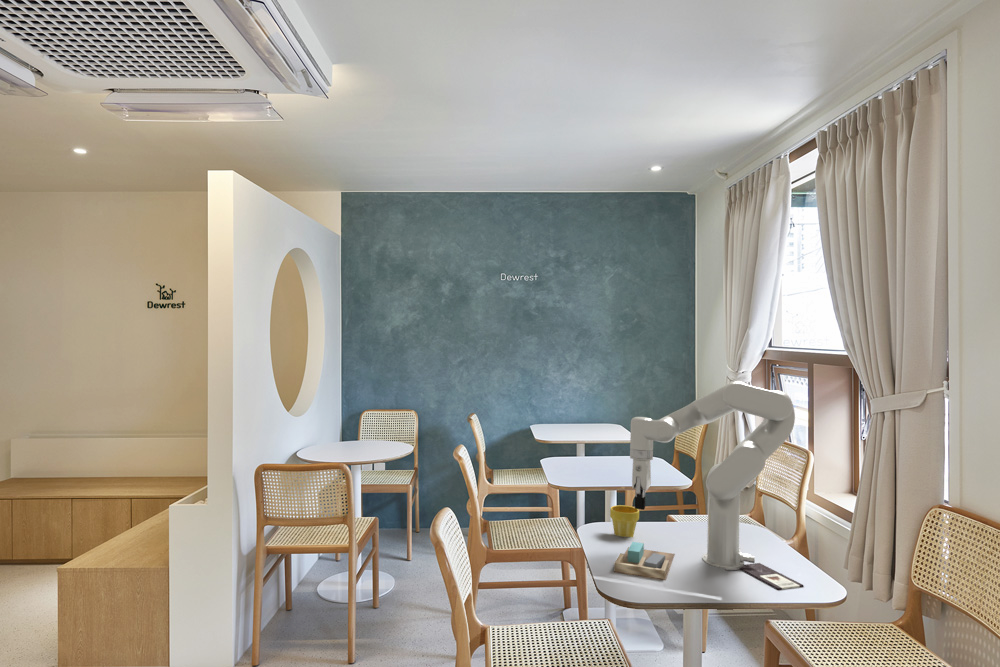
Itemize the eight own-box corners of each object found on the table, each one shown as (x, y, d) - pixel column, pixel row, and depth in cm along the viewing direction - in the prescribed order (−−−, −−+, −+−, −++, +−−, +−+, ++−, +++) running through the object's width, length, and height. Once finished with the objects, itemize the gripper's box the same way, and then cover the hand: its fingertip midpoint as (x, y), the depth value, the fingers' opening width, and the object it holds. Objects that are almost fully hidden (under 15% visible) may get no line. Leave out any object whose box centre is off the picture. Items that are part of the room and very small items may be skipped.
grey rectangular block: (665, 566, 184) (665, 555, 184) (656, 576, 177) (656, 564, 177) (653, 564, 186) (653, 552, 186) (644, 573, 179) (644, 561, 179)
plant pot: (643, 535, 217) (643, 508, 217) (631, 542, 209) (631, 514, 209) (617, 529, 223) (617, 503, 223) (604, 536, 215) (605, 509, 215)
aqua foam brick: (643, 554, 195) (643, 543, 195) (639, 563, 187) (639, 552, 187) (632, 552, 197) (632, 541, 197) (627, 561, 188) (627, 550, 188)
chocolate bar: (759, 562, 190) (803, 585, 173) (759, 565, 190) (803, 588, 173) (735, 565, 187) (778, 588, 170) (735, 568, 187) (777, 591, 170)
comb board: (674, 556, 196) (675, 546, 196) (665, 583, 174) (665, 572, 174) (628, 549, 202) (628, 540, 202) (613, 574, 179) (613, 563, 179)
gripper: (649, 459, 193) (647, 516, 193) (655, 451, 207) (654, 504, 206) (626, 456, 196) (624, 512, 195) (633, 449, 209) (632, 501, 209)
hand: (639, 508), depth 201 cm, fingers closed
